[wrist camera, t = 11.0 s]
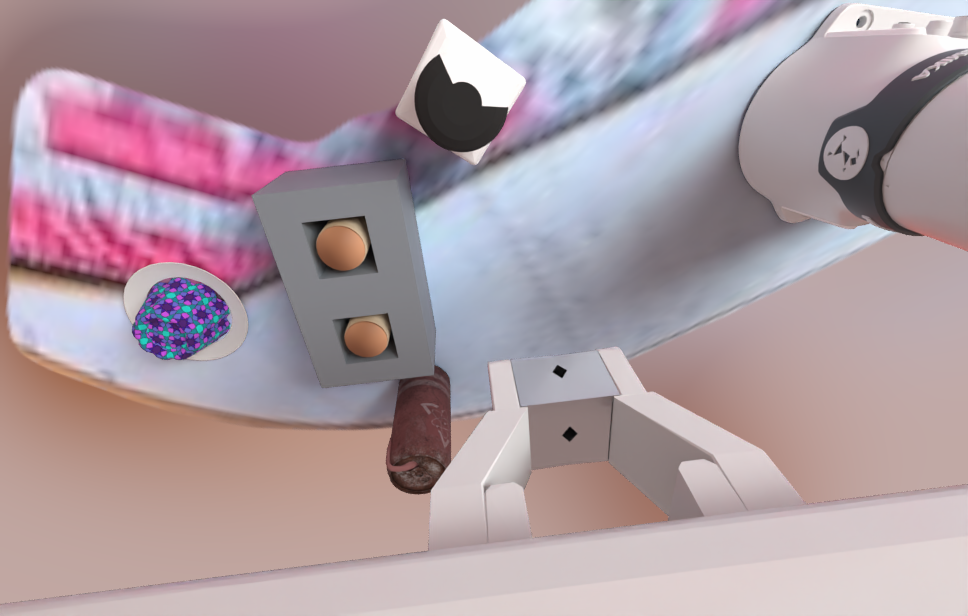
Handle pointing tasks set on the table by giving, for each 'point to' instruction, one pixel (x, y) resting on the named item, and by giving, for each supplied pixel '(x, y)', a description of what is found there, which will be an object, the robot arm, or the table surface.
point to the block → (360, 291)
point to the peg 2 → (368, 334)
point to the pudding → (183, 313)
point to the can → (420, 433)
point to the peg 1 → (344, 243)
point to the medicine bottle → (459, 93)
